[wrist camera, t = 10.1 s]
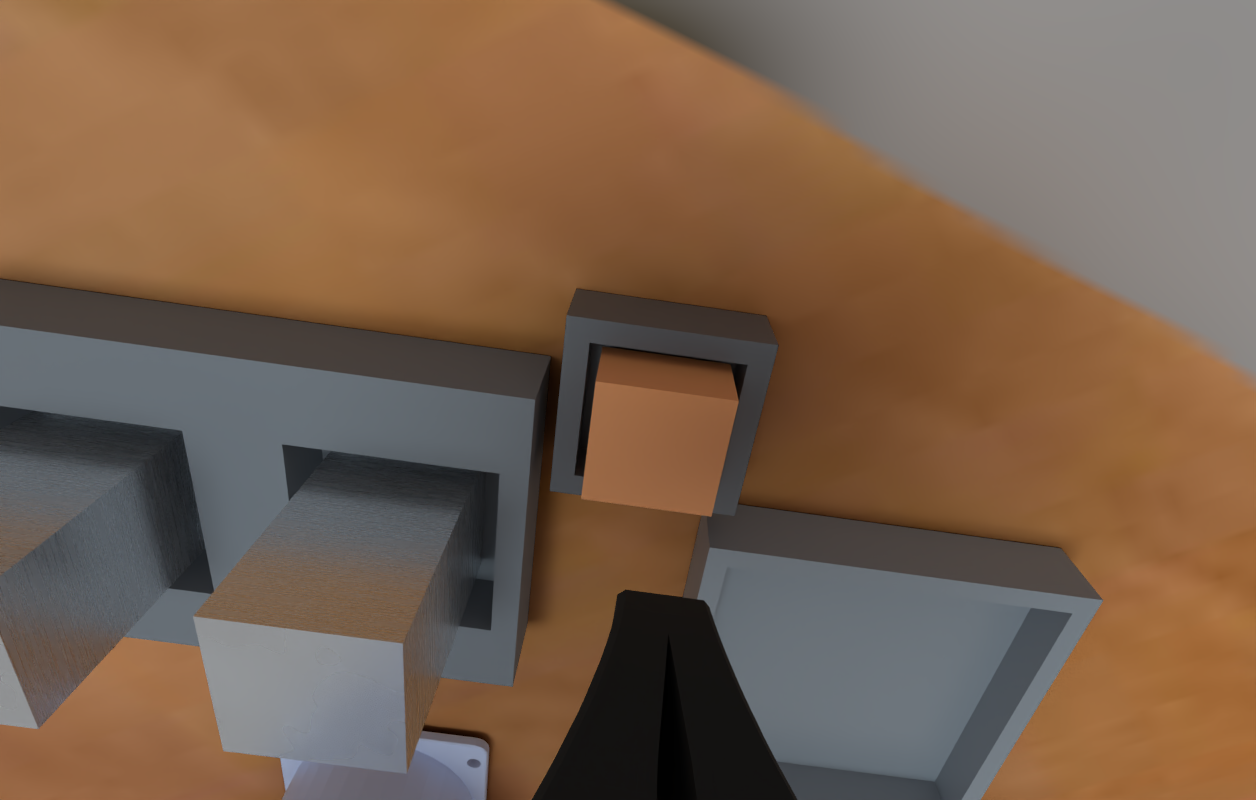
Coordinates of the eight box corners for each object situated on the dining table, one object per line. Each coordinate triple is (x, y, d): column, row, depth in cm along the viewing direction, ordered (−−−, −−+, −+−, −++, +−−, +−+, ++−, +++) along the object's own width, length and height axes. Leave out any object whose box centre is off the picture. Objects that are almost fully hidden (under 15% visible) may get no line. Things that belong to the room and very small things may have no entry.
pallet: (527, 623, 23) (512, 686, 21) (83, 564, 23) (17, 622, 20) (551, 356, 18) (534, 399, 16) (-6, 278, 18) (-105, 311, 16)
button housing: (728, 474, 20) (734, 516, 18) (559, 451, 20) (549, 491, 18) (766, 315, 17) (778, 345, 16) (576, 288, 17) (566, 315, 16)
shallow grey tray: (936, 773, 26) (960, 832, 24) (651, 736, 25) (650, 793, 23) (1060, 548, 20) (1103, 600, 19) (704, 500, 20) (709, 547, 18)
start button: (706, 471, 18) (711, 516, 16) (588, 455, 18) (580, 499, 16) (730, 364, 17) (739, 401, 15) (602, 346, 17) (595, 381, 15)
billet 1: (224, 527, 21) (38, 729, 15) (94, 509, 21) (-150, 705, 14) (204, 414, 19) (-19, 590, 13) (61, 394, 19) (-235, 562, 13)
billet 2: (482, 560, 21) (406, 773, 15) (353, 542, 21) (223, 750, 15) (486, 451, 19) (402, 643, 13) (346, 432, 19) (192, 616, 13)
